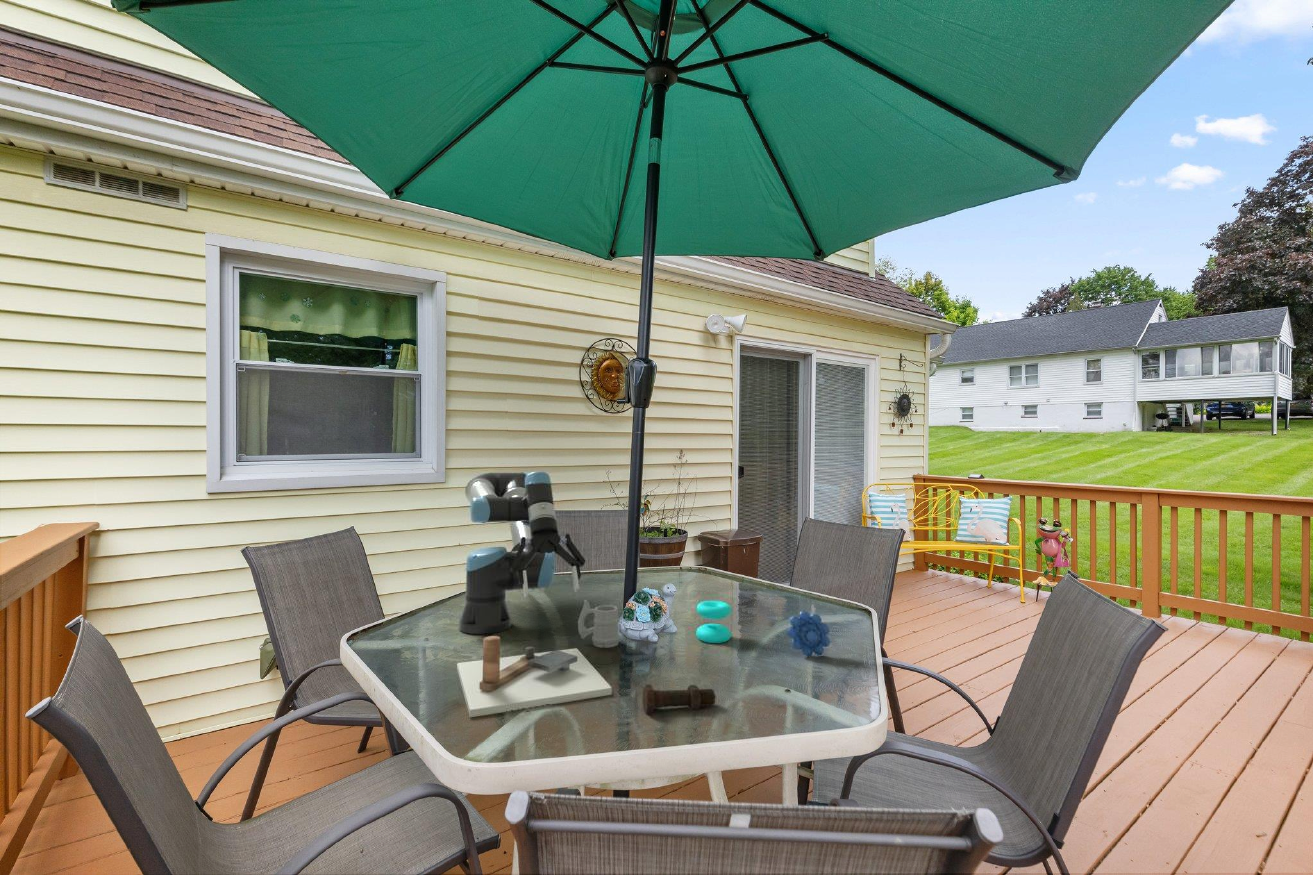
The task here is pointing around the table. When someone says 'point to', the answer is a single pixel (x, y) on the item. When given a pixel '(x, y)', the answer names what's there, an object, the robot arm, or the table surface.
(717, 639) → the donuts
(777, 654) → the table surface
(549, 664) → the block
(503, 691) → the base plate
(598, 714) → the table surface
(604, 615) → the mug
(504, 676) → the link
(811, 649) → the blue knobby flower
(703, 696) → the bolt
